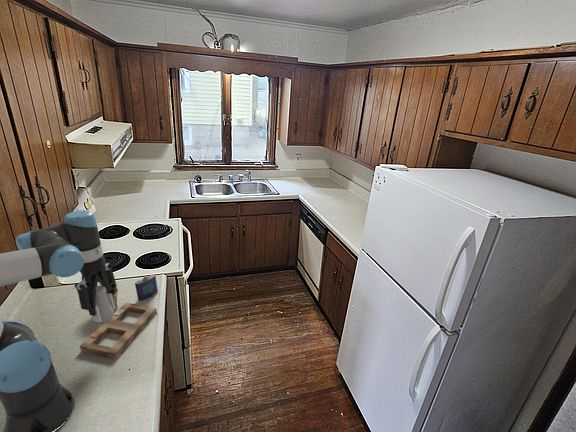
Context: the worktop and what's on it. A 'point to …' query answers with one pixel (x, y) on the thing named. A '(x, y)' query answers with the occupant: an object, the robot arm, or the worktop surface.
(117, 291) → the flower pot
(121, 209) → the worktop surface
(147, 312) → the socket board
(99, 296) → the salt shaker
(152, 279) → the flask
